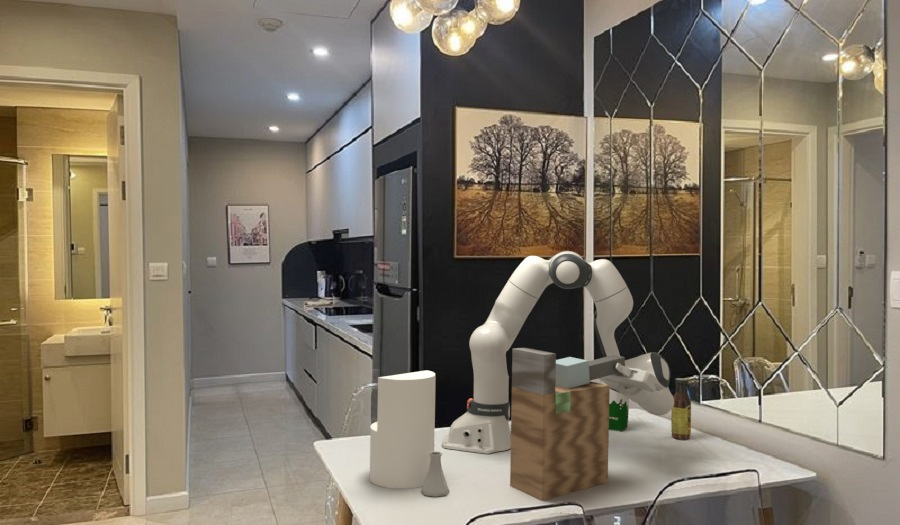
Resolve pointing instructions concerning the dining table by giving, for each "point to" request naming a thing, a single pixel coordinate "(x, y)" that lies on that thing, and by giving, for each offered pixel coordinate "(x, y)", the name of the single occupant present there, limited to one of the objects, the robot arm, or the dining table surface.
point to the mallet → (584, 370)
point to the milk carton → (618, 411)
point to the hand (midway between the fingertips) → (608, 363)
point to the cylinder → (403, 430)
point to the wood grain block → (555, 429)
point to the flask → (435, 477)
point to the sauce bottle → (681, 411)
